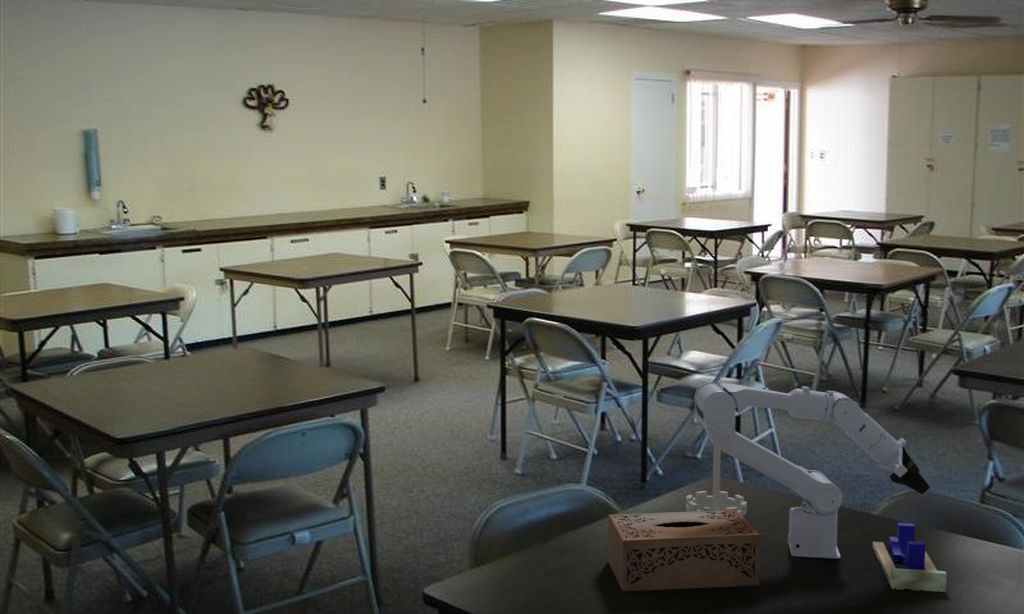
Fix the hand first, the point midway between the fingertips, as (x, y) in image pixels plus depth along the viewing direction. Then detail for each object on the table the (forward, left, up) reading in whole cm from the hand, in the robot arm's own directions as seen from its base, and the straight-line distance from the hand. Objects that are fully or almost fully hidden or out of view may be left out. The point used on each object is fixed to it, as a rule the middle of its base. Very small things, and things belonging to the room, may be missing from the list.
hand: (920, 481), depth 209 cm
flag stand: (-40, +10, -15) cm, 44 cm away
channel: (-4, -10, -14) cm, 18 cm away
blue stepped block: (-4, -7, -15) cm, 17 cm away
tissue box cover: (-47, -20, -15) cm, 53 cm away
